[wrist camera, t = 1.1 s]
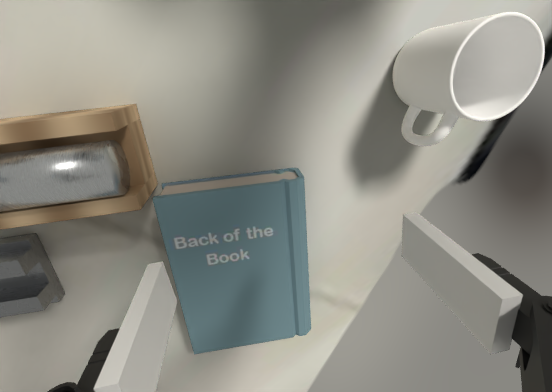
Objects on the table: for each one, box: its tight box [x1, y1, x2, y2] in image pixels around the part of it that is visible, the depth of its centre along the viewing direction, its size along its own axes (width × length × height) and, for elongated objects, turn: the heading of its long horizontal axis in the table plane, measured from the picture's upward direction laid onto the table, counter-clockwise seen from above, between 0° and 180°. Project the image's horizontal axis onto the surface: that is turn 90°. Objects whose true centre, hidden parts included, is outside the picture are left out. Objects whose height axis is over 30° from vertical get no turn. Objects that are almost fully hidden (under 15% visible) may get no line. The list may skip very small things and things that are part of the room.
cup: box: [392, 12, 544, 146], centre depth 30 cm, size 8×12×10 cm
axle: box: [0, 140, 130, 212], centre depth 27 cm, size 13×5×5 cm, turn 96°
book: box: [153, 168, 311, 354], centre depth 38 cm, size 23×16×5 cm
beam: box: [0, 104, 158, 230], centre depth 29 cm, size 20×9×7 cm, turn 96°
